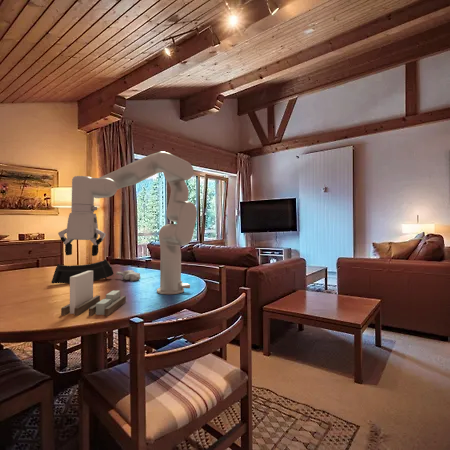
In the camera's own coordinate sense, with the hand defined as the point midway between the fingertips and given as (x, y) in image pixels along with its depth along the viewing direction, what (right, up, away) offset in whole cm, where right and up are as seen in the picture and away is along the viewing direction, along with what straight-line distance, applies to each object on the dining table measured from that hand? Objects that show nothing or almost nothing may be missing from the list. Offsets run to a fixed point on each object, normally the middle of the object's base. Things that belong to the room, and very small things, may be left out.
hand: (81, 255), depth 112 cm
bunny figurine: (0, -20, +56) cm, 60 cm away
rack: (+5, -20, 0) cm, 21 cm away
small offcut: (+10, -20, -4) cm, 23 cm away
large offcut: (+10, -20, +5) cm, 23 cm away
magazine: (-22, -19, +48) cm, 57 cm away
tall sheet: (0, -20, 0) cm, 20 cm away
